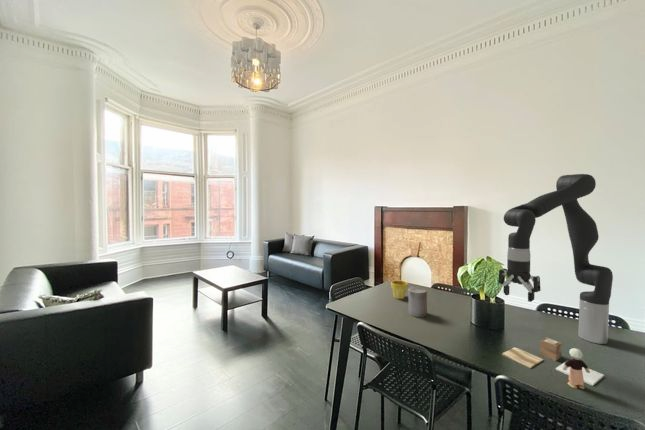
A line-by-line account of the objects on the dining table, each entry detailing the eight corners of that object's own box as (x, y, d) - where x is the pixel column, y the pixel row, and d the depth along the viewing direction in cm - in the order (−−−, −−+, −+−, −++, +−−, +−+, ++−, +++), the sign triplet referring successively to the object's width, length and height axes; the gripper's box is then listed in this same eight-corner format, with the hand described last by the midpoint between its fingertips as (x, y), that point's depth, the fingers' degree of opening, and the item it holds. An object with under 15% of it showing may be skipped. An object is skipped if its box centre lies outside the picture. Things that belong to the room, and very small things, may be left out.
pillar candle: (424, 310, 154) (424, 284, 153) (429, 317, 144) (429, 290, 143) (406, 310, 154) (406, 284, 154) (410, 317, 145) (410, 290, 144)
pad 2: (567, 361, 104) (567, 360, 104) (603, 376, 95) (603, 374, 95) (555, 369, 99) (555, 368, 99) (592, 385, 90) (592, 384, 90)
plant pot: (409, 296, 177) (409, 281, 176) (405, 301, 168) (405, 285, 167) (393, 293, 182) (393, 279, 182) (388, 298, 173) (388, 283, 173)
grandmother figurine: (579, 381, 92) (581, 345, 92) (591, 389, 89) (592, 351, 88) (558, 382, 92) (559, 346, 92) (568, 390, 88) (570, 352, 88)
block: (546, 351, 111) (546, 337, 111) (561, 357, 107) (561, 342, 106) (540, 354, 109) (540, 340, 108) (555, 361, 104) (555, 346, 104)
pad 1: (514, 348, 114) (514, 346, 114) (543, 360, 105) (543, 359, 105) (501, 354, 109) (501, 353, 109) (530, 368, 100) (530, 366, 100)
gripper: (544, 260, 104) (543, 301, 105) (505, 254, 117) (504, 291, 118) (534, 263, 101) (533, 305, 102) (495, 256, 113) (494, 294, 114)
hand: (518, 297), depth 110 cm, fingers open, 8 cm apart
